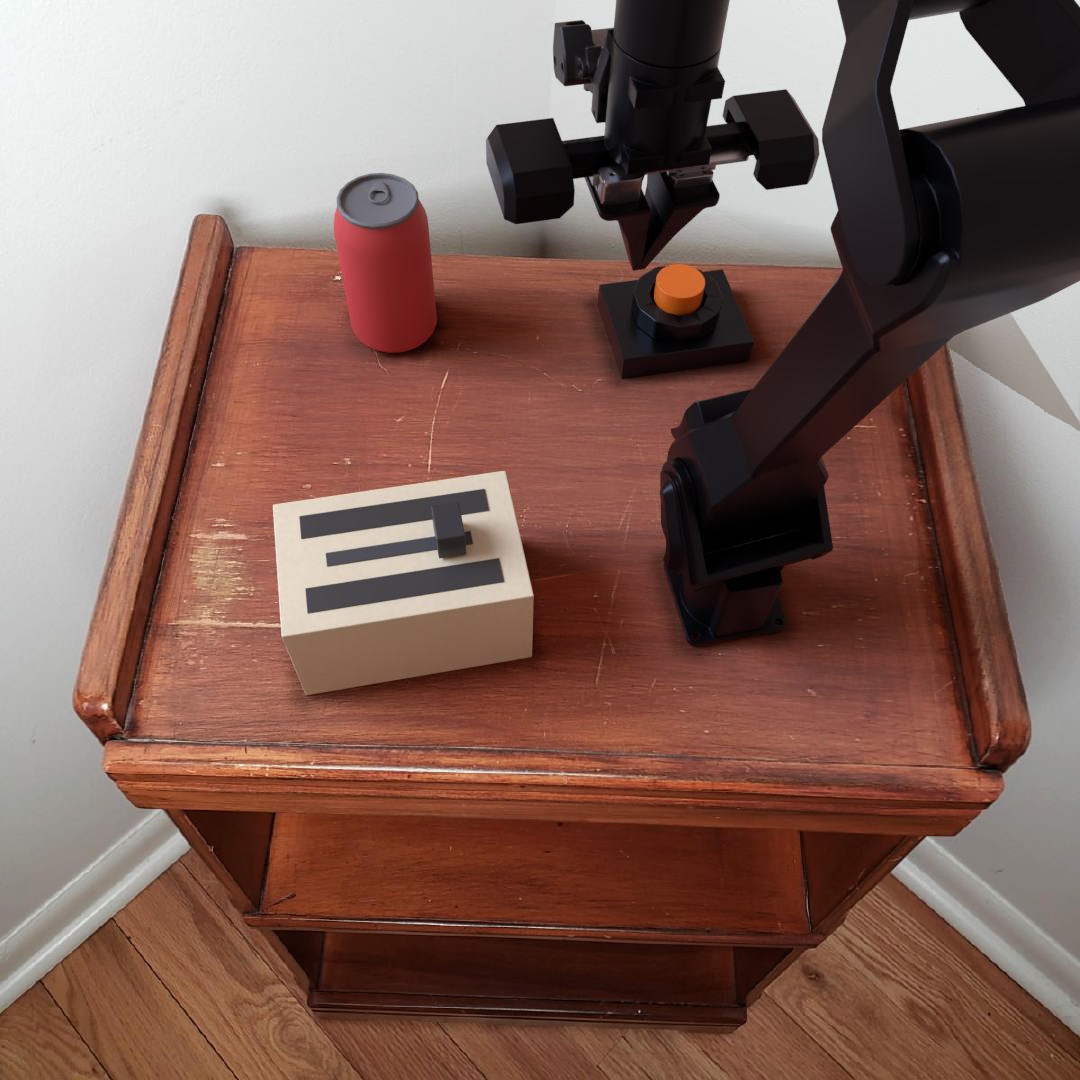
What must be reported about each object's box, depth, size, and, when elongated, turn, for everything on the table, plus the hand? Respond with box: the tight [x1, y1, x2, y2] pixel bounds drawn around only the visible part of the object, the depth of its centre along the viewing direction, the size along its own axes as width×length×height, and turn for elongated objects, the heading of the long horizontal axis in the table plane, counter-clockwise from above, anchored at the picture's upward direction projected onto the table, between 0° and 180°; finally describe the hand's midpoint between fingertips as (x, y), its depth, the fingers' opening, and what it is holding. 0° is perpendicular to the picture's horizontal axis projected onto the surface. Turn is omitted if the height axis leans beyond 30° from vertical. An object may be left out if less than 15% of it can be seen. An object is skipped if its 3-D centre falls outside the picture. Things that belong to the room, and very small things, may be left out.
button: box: [654, 263, 705, 315], centre depth 75 cm, size 4×4×2 cm
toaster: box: [272, 470, 535, 696], centre depth 62 cm, size 9×14×8 cm, turn 101°
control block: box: [597, 264, 755, 380], centre depth 77 cm, size 8×10×4 cm
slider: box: [431, 502, 466, 558], centre depth 58 cm, size 2×2×2 cm
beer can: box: [333, 172, 438, 354], centre depth 74 cm, size 7×7×12 cm
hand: (636, 265), depth 66 cm, fingers closed
